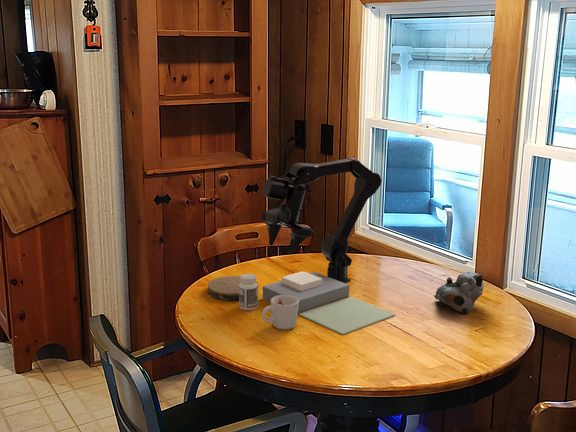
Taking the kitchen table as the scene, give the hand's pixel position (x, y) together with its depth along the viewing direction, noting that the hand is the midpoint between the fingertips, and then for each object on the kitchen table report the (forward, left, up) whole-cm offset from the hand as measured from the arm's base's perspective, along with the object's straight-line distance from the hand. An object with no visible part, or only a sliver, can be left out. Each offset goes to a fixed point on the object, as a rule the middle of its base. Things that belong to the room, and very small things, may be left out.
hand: (279, 249), depth 221 cm
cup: (+19, +23, -13) cm, 33 cm away
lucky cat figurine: (-33, +45, -14) cm, 58 cm away
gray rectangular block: (-2, +11, -13) cm, 17 cm away
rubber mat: (-2, +29, -13) cm, 32 cm away
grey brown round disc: (+13, -7, -14) cm, 20 cm away
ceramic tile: (-2, +9, -9) cm, 13 cm away
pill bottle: (+17, +6, -13) cm, 23 cm away
